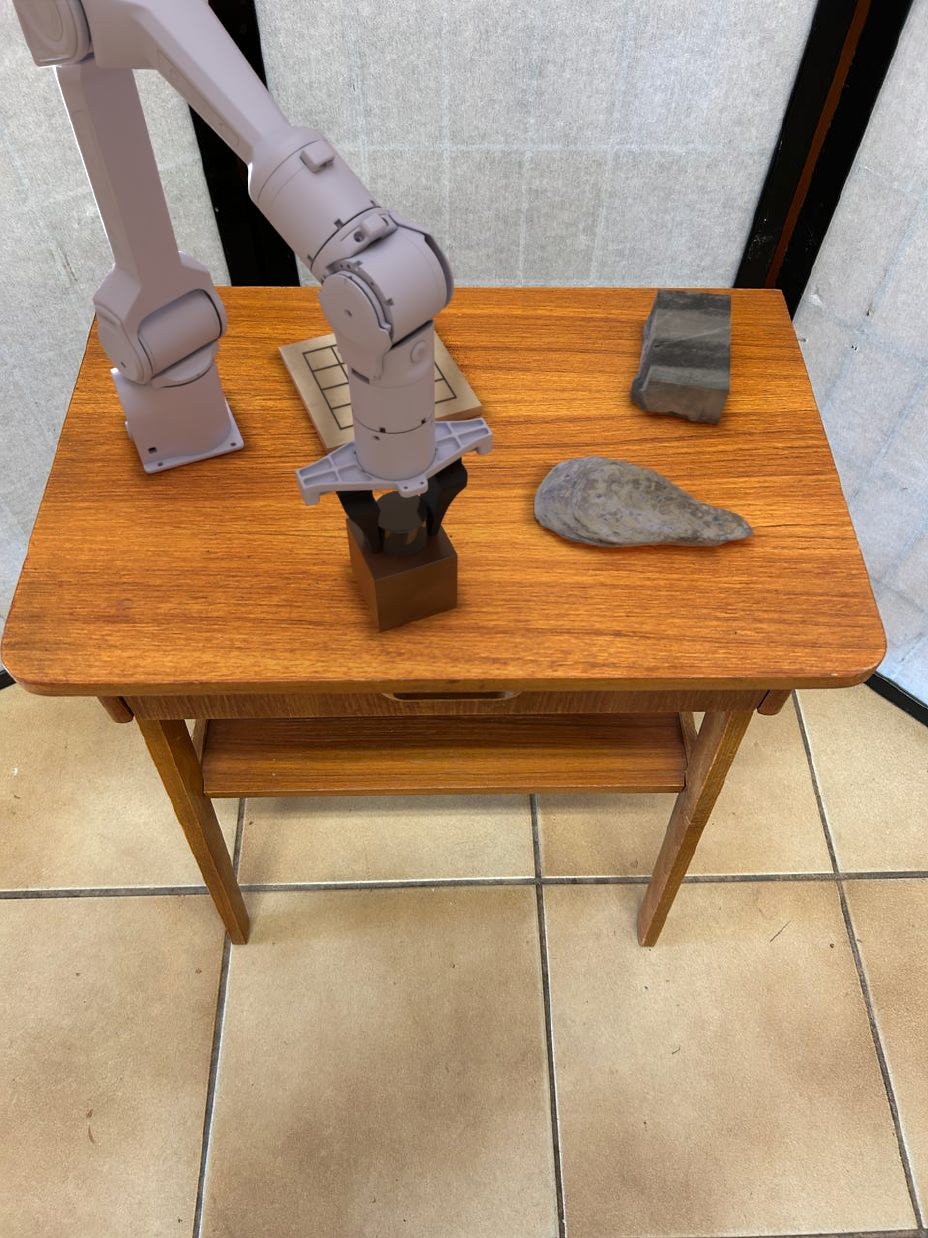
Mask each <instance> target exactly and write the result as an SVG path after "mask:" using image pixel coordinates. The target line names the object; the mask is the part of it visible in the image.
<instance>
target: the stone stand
mask: <svg viewBox="0 0 928 1238" xmlns="http://www.w3.org/2000/svg"><path fill="white" fill-rule="evenodd" d="M345 527H346V535H347V542H348V550H349V557H350V558H349V559H350V566H351V573H352V575H353V577H354V579H355V582H356V584H357V586H358V588H359V590H360V592H361V595H362V597H363V599H364V601H365V604H366V606H367V608H368V610H369V613H370V615H371V617H372V619H373V621H374V624H375V626H376V628H377V630H378V632H379V633H383V632H386V631H389V630H391V629H396V628H398V627H401V626H404V625H407V624H410V623H413V622H416V621H419V620H422V619H425V618H428V617H432V616H435V615H438V614H440V613H443V612H446V611H449V610H452V609H456V608H458V570H459V569H458V568H459V567H458V563H459V561H458V559H459V555H458V553H457V550H456V548H455V547H454V545H453V543H452V541H451V540H450V537H449V536H448V535H447V532H446V530H445V528H444V527H443V525H442V524H441V526H440V529H439V531H438V533H437V534H434V535H430V533H429V538H428V542H427V544H426V545H425V547H424V548H423V549H422V550H421V551H419V552H418V553H416V554H414V555H412V556H408V557H393V556H390V555H387V554H385V553H383V552H382V551H381V550H380V552H376V553H371V551H370V549H369V547H368V545H367V543H366V541H365V538H364V536H363V532H362V530H361V529H360V528H359V527H358V526H357V525H356V524H355V523H354V522H353V521H351V520H350V518H349V517H346V518H345Z"/></svg>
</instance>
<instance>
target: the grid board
mask: <svg viewBox="0 0 928 1238" xmlns="http://www.w3.org/2000/svg"><path fill="white" fill-rule="evenodd" d="M278 351H279V356H280V359H281V360H282V362H283V365H284V367H285V369H286V371H287V373H288V376H289V377H290V379H291V381H292V383H293V386H294V388H295V391H296V392H297V394H298V396H299V398H300V400H301V402H302V404H303V406H304V409H305V411H306V412H307V416H308V418H309V419H310V421H311V423H312V426H313V428H314V430H315V432H316V434H317V436H318V439H319V440H320V442H321V444H322V447H323V450H324V451H325V453H326V456H327V455H328V454H330V453H332V452H333V451H335V450H337V449H338V448H340V447H342V446H343V445H345V444H347V443H348V442H350V441H351V440H353V439H355V437H354V428H353V419H352V409H351V399H350V390H349V380H348V371H347V364H345V363H344V362H343V361H342V359H341V355H340V354H339V353H338V352H337V344H336V338H335V335H334V332H333V333H329V334H325V335H321V336H317V337H313V338H309V339H305V340H301V341H297V342H293V343H289V344H285V345H281V346H278ZM434 363H435V422H440V421H464V420H468V419H469V418H473V417H477V416H481V415H482V414H483V404H482V403H481V401H480V400H479V398H478V397H477V395H476V393H475V392H474V390H473V389H472V387H471V385H470V384H469V383H468V381H467V379H466V378H465V376H464V374H463V372H462V371H461V369H460V368H459V366H458V365H457V363H456V361H455V360H454V359H453V356H452V355H451V354H450V352H449V351H448V349H447V347H446V345H445V344H444V343H443V341H442V340H441V338H440V337H439V334H438V333H437V332H436V329H434Z"/></svg>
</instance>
